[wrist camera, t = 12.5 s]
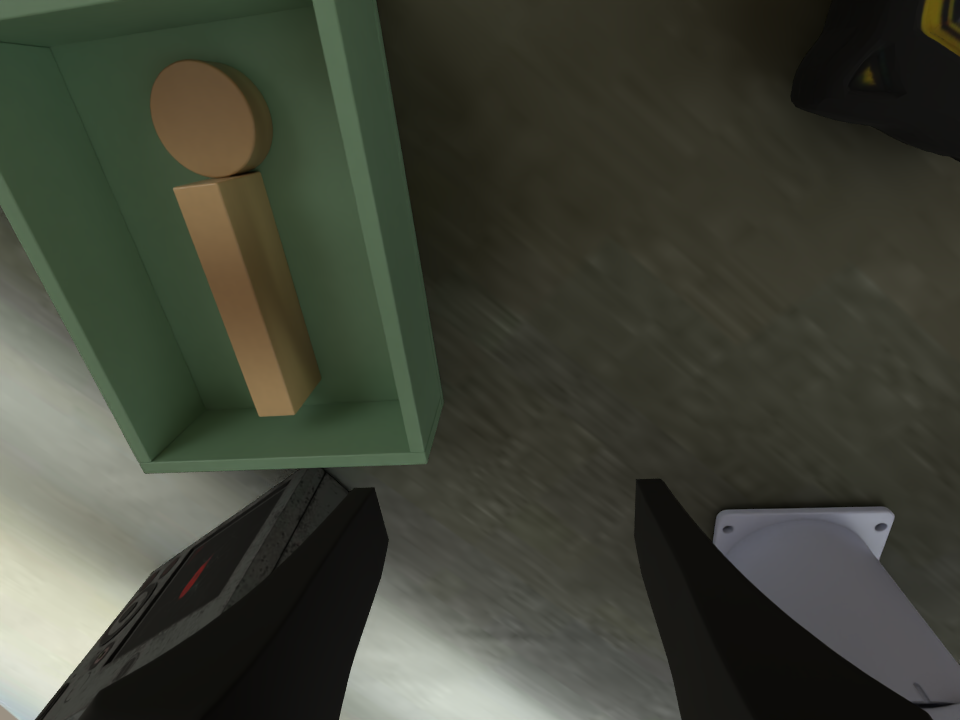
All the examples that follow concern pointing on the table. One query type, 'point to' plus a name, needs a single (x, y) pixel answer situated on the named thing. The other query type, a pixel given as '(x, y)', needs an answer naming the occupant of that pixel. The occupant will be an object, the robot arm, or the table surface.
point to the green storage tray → (169, 247)
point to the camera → (201, 585)
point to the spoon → (237, 225)
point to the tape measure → (888, 70)
